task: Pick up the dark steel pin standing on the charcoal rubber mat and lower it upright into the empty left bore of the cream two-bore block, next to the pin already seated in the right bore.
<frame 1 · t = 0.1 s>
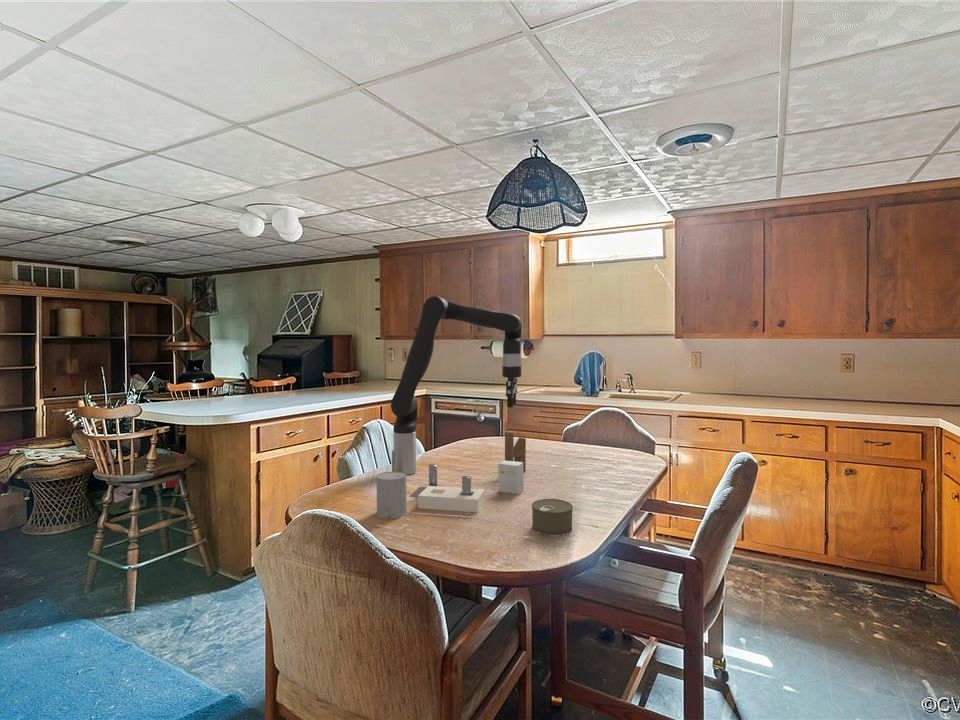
hand: (511, 405, 197), 29 cm above the table, tool pointing down, fingers open, 8 cm apart
grey concrete cylinder: (391, 514, 158), on the table
seated pin: (466, 506, 165), resting in bore block
steel pin: (433, 492, 178), resting on mat
small box: (511, 491, 182), on the table
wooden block: (514, 474, 206), on the table
bore block: (452, 505, 166), on the table
mat: (433, 493, 178), on the table
can: (552, 528, 146), on the table
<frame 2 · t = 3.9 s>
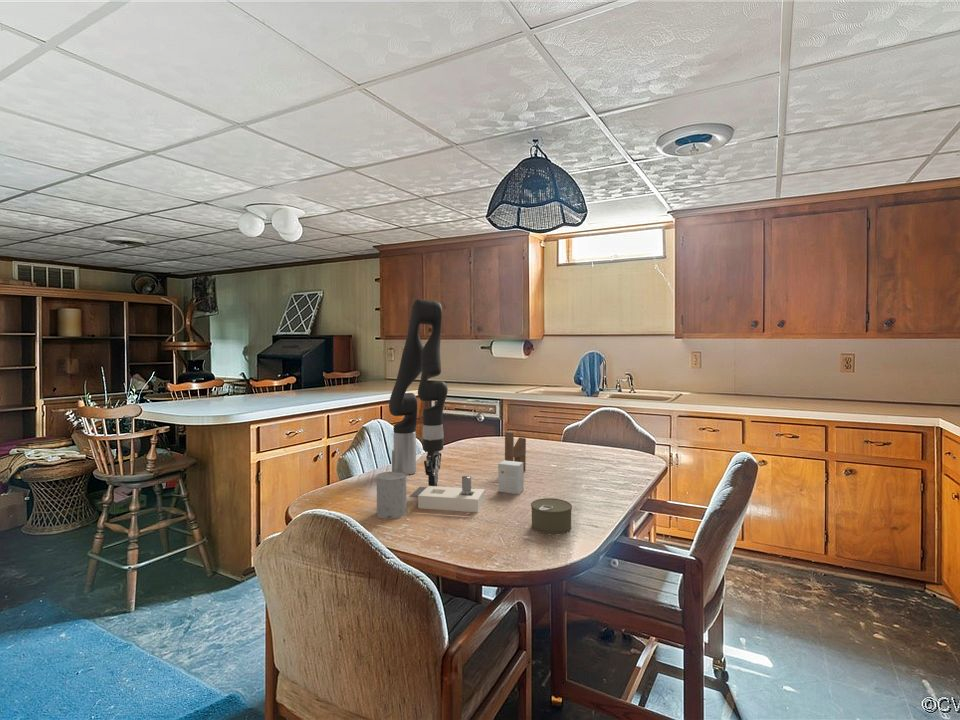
hand: (433, 484, 178), 4 cm above the table, tool pointing down, fingers closed on steel pin, 3 cm apart
steel pin: (433, 492, 178), resting on mat, touching gripper
everything else where it was.
when the fingers open (5 cm above the table, at t = 8.7 s): steel pin drops 2 cm, resting in bore block.
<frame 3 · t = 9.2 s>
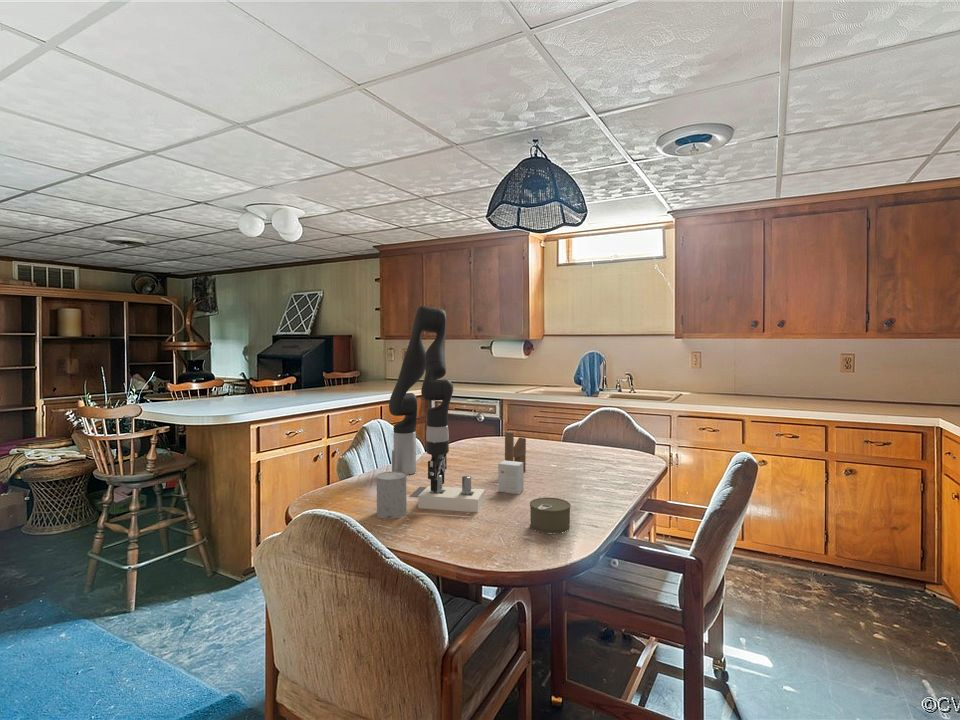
hand: (437, 487, 166), 6 cm above the table, tool pointing down, fingers open, 7 cm apart
steel pin: (437, 504, 166), resting in bore block
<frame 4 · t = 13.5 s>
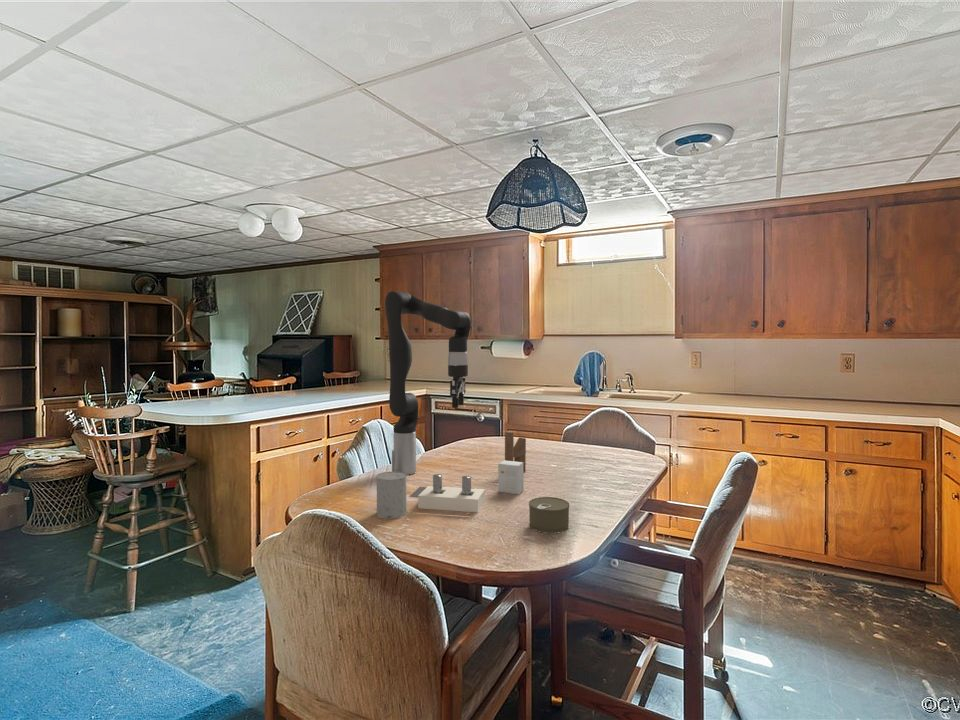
hand: (458, 406, 189), 30 cm above the table, tool pointing down, fingers open, 8 cm apart
at the end: steel pin 0.1 cm from the target spot on the bore block, point 0.0 cm above the bore block's base; steel pin tilted 0°; the gripper is holding nothing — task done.
